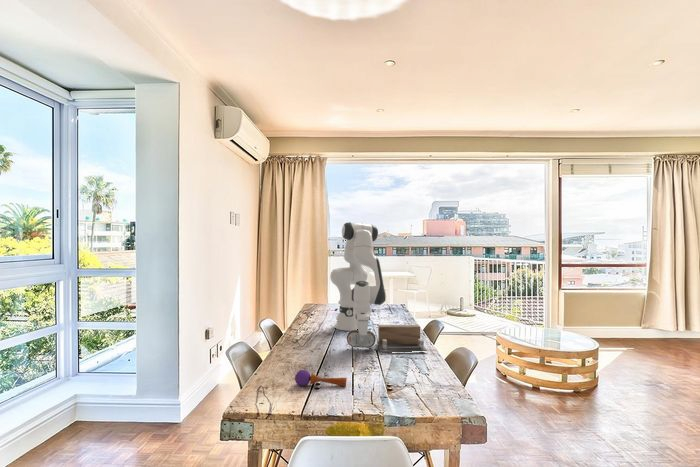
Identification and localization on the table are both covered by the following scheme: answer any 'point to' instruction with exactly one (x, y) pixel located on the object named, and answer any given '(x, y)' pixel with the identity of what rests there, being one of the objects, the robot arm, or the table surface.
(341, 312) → the robot arm
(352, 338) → the tin
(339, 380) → the kendama
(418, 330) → the cabinet
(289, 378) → the table surface
